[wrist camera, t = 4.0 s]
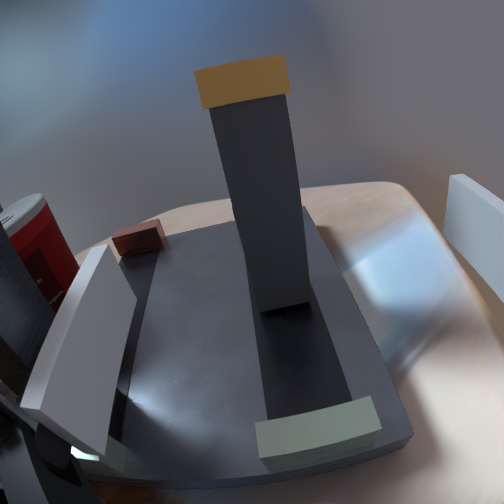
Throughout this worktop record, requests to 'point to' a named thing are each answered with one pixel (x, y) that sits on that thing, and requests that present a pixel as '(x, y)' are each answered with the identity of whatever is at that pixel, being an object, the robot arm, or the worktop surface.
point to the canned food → (41, 247)
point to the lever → (260, 173)
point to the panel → (222, 366)
